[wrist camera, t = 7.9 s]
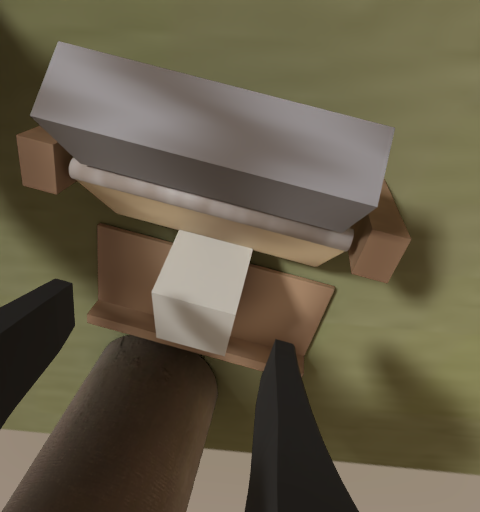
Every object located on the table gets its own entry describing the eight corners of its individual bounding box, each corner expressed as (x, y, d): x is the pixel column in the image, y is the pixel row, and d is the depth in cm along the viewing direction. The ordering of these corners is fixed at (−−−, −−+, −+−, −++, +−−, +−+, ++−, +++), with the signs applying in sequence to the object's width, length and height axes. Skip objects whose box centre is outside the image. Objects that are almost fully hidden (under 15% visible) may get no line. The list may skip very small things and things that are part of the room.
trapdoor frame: (100, 305, 26) (48, 375, 21) (98, 103, 19) (16, 134, 13) (300, 360, 26) (297, 445, 21) (383, 177, 18) (411, 239, 13)
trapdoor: (132, 165, 20) (116, 214, 20) (41, 36, 11) (7, 125, 10) (327, 217, 20) (315, 267, 20) (412, 132, 10) (391, 227, 10)
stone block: (179, 229, 19) (179, 280, 23) (151, 292, 17) (156, 337, 21) (253, 248, 19) (240, 297, 23) (235, 315, 17) (224, 356, 21)
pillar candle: (143, 311, 26) (-20, 584, 13) (245, 387, 28) (187, 677, 16) (81, 368, 31) (-81, 606, 18) (172, 429, 33) (85, 675, 21)
